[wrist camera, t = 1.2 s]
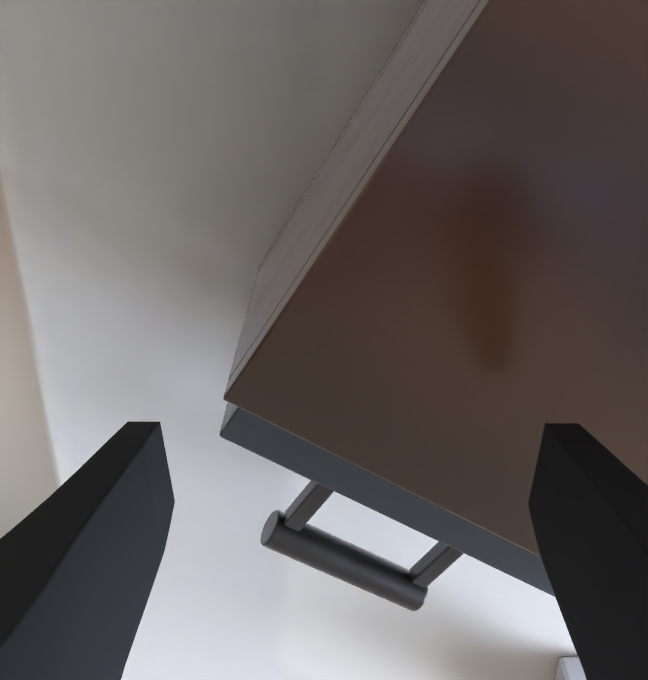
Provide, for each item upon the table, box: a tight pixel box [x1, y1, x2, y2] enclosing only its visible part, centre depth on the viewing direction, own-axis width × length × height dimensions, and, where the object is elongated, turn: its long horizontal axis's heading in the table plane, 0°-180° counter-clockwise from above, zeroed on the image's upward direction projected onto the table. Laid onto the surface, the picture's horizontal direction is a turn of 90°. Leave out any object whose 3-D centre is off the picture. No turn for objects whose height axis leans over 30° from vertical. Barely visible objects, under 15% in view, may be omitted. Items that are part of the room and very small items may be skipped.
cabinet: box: [224, 0, 648, 557], centre depth 16 cm, size 14×14×7 cm
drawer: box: [220, 402, 555, 611], centre depth 18 cm, size 18×13×6 cm
